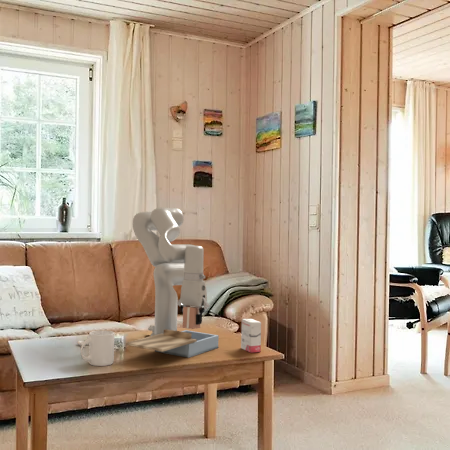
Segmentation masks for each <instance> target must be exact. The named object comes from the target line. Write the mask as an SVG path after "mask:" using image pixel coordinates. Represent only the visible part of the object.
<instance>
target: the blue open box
mask: <svg viewBox="0 0 450 450" xmlns="http://www.w3.org/2000/svg"><path fill="white" fill-rule="evenodd" d="M180 332H187V333H192V335H191V338H192V339H197V342H193V343H190V344H187V345H183V346H180V347H177V348H173V349H170V350H167V351H163V352H161V351H156V350H154V352H156V353H157V352H158V353H163V354H167V355H168V354H169V355H172V356H173V355H174V356H178V357H183V358H192V357H195V356H198V355H201V354H204V353H207V352H209V351H213V350H216V349H218V348H219V339H220V338H219V335H218V334H212V333H206V332H200V331H193V330H189V329H188V330H187V329H185V330H181V331H180Z"/></svg>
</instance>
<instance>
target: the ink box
mask: <svg viewBox="0 0 450 450" xmlns="http://www.w3.org/2000/svg"><path fill="white" fill-rule="evenodd" d="M240 336H241V337H240V339H241V340H240V349H242V350H244V351H246V352H248V353H250V354H251V353H260V352H261V347H262V346H261V345H262V340H261V339H262V322H261V321H259V320H255V319H254V318H242V319H241V335H240Z"/></svg>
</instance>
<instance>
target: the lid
mask: <svg viewBox="0 0 450 450" xmlns="http://www.w3.org/2000/svg"><path fill="white" fill-rule="evenodd" d="M191 335H192V333H187V332H181V331H179V330H177V331H174V330H168V329H165V330H164V334H158V335H154V336H151V335H150V336H147V337H144V338H138V339H134V340H131V341H126V343H125V345H126V346H130V347H134V348H141V349H147V350H151V351H155V350H156V351H161V352H160V353H162V352H163V351H167V350H170V349H173V348H177V347H180V346H183V345H187V344H190V343H193V342H197V339H192V338H191ZM156 351H155V352H156Z"/></svg>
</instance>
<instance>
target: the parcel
mask: <svg viewBox="0 0 450 450" xmlns="http://www.w3.org/2000/svg"><path fill="white" fill-rule="evenodd" d="M196 314H197V310H196V307H194V306H190V307H183V312H182V328H183V329H188V330H189V329H191V330H194V329H200V328H201V324H198V325H196Z"/></svg>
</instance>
